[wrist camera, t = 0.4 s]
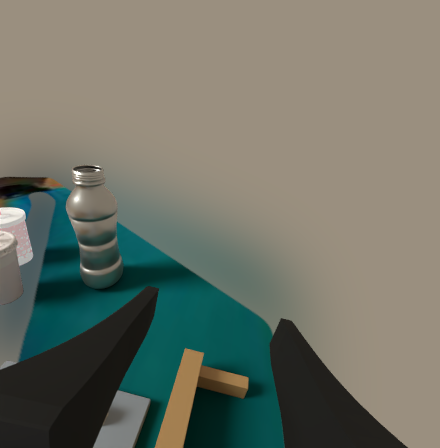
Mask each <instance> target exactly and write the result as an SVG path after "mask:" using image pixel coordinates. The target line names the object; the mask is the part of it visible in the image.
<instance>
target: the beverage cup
mask: <svg viewBox="0 0 440 448" xmlns="http://www.w3.org/2000/svg"><path fill="white" fill-rule="evenodd" d="M25 218H26V216H25V212H24V210H21V209H19V208H0V231H5V232H10V233H12V234H14V235H15V237H16V240H17V241H18V245H17V247H16V251H17V257H18V262H19V266H20V265H23V264H25V263H27V262H29V261H30V260H31V259H32V257H33V253H32V248H31V244H30V240H29V236H28V232H27V227H26V223H25Z"/></svg>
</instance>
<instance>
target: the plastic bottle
mask: <svg viewBox="0 0 440 448" xmlns="http://www.w3.org/2000/svg"><path fill="white" fill-rule="evenodd" d="M72 175H73V179H72V181H73V184H75V185H76V187H75V188H74V190H73V191H72V192H71V194H70V196H69V198H68V199H67V203H66V210H67V213H68V216H69V218H70V221H71V223H72V225H73V228H74V230H75V233H76V236H77V240H78V243H79V247H80V258H81V264H80V274H81V277H82V279H83V281H84V283H85V284H86V285H87V286H89V287H92V288H95V289H103V288H107V287H110V286H112V285H113V284H115V283H116V282H117V281H118V280H119V279H120V278H121V276H122V273H123V267H124V266H123V261H122V258H121V255H120V253H119V248H118V243H117V235H116V234H117V233H116V222H117V202H116V199H115V197H114V196H113V195H112V193H111V192H110V191H109V190H108V189H107V188H106V187H105V186H104V183H105V178H104V170H103V168H102V167H100V166H95V165H79V166H75V167H73V168H72Z"/></svg>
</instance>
